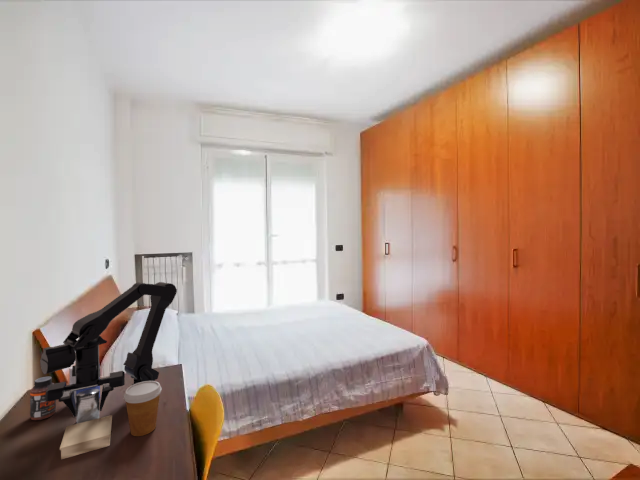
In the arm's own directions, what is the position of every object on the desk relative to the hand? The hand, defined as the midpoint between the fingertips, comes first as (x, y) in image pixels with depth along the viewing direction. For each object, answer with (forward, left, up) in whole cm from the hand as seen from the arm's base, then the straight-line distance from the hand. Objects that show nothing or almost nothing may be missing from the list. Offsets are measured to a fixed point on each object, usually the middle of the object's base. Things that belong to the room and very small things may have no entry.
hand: (88, 413), depth 95 cm
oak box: (-1, +12, -2) cm, 12 cm away
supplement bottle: (+12, -10, -2) cm, 16 cm away
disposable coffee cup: (-14, +14, -2) cm, 20 cm away
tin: (0, 0, -2) cm, 2 cm away
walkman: (+2, -14, -2) cm, 14 cm away
